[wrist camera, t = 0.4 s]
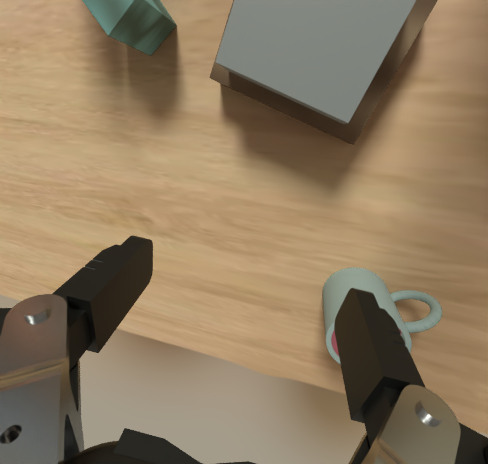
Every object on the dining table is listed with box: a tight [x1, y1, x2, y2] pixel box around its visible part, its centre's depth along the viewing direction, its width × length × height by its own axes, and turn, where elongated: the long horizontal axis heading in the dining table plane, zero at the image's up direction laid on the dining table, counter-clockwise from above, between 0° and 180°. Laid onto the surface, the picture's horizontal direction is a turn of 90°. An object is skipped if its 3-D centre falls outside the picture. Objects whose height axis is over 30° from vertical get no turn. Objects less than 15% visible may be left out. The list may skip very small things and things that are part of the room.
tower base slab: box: [210, 0, 437, 145], centre depth 29 cm, size 14×18×4 cm
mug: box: [323, 268, 442, 365], centre depth 34 cm, size 14×9×10 cm
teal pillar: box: [82, 0, 176, 56], centre depth 29 cm, size 5×5×8 cm
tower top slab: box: [215, 0, 416, 124], centre depth 25 cm, size 11×14×4 cm
